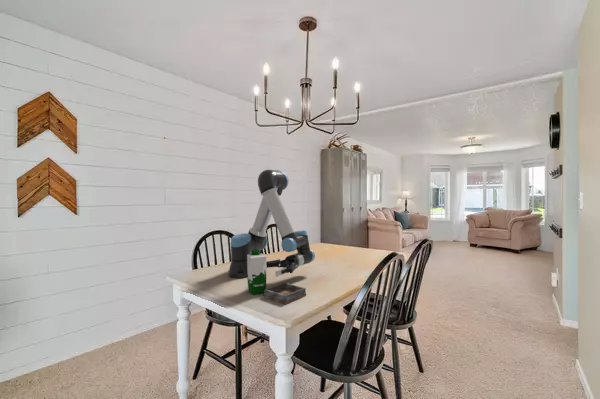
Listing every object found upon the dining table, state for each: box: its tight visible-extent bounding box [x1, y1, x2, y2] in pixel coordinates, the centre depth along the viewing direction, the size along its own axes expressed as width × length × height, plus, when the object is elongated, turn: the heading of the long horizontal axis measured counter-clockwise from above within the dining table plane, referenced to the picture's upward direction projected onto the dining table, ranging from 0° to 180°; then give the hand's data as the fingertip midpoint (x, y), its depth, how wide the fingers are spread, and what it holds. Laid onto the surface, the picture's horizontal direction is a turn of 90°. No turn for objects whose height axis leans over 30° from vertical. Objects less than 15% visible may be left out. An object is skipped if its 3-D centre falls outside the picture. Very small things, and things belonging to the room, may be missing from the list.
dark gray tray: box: [263, 282, 307, 305], centre depth 138 cm, size 14×14×4 cm
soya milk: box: [247, 250, 267, 296], centre depth 144 cm, size 9×9×20 cm
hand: (266, 271), depth 147 cm, fingers open, 13 cm apart
